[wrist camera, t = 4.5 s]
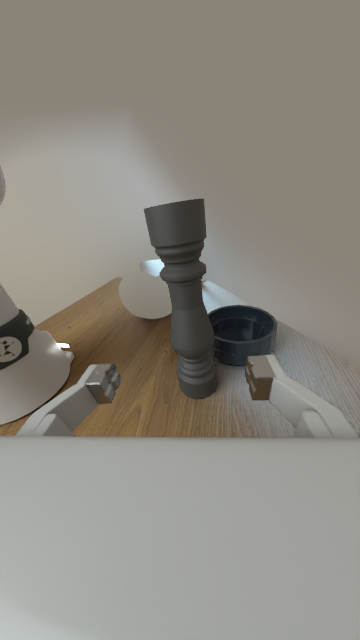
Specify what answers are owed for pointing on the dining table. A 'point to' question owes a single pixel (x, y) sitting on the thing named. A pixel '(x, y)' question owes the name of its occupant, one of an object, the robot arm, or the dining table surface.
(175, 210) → the candle holder
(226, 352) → the bowl
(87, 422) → the dining table surface
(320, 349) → the dining table surface
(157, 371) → the dining table surface
